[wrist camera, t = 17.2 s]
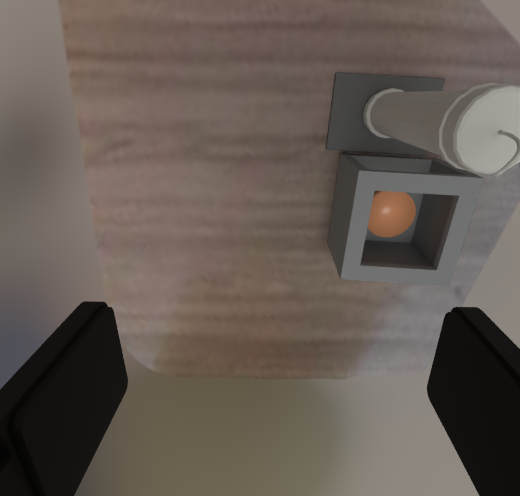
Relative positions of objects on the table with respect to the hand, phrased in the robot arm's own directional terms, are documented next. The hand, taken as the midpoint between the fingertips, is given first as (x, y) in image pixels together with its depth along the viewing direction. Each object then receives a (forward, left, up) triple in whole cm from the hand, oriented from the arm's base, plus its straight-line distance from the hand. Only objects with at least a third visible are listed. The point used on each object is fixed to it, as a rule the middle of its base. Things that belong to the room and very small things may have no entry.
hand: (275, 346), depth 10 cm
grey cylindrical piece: (-5, +13, -39) cm, 41 cm away
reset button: (+7, +15, -38) cm, 41 cm away
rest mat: (-5, +13, -40) cm, 42 cm away
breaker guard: (+7, +15, -40) cm, 43 cm away
